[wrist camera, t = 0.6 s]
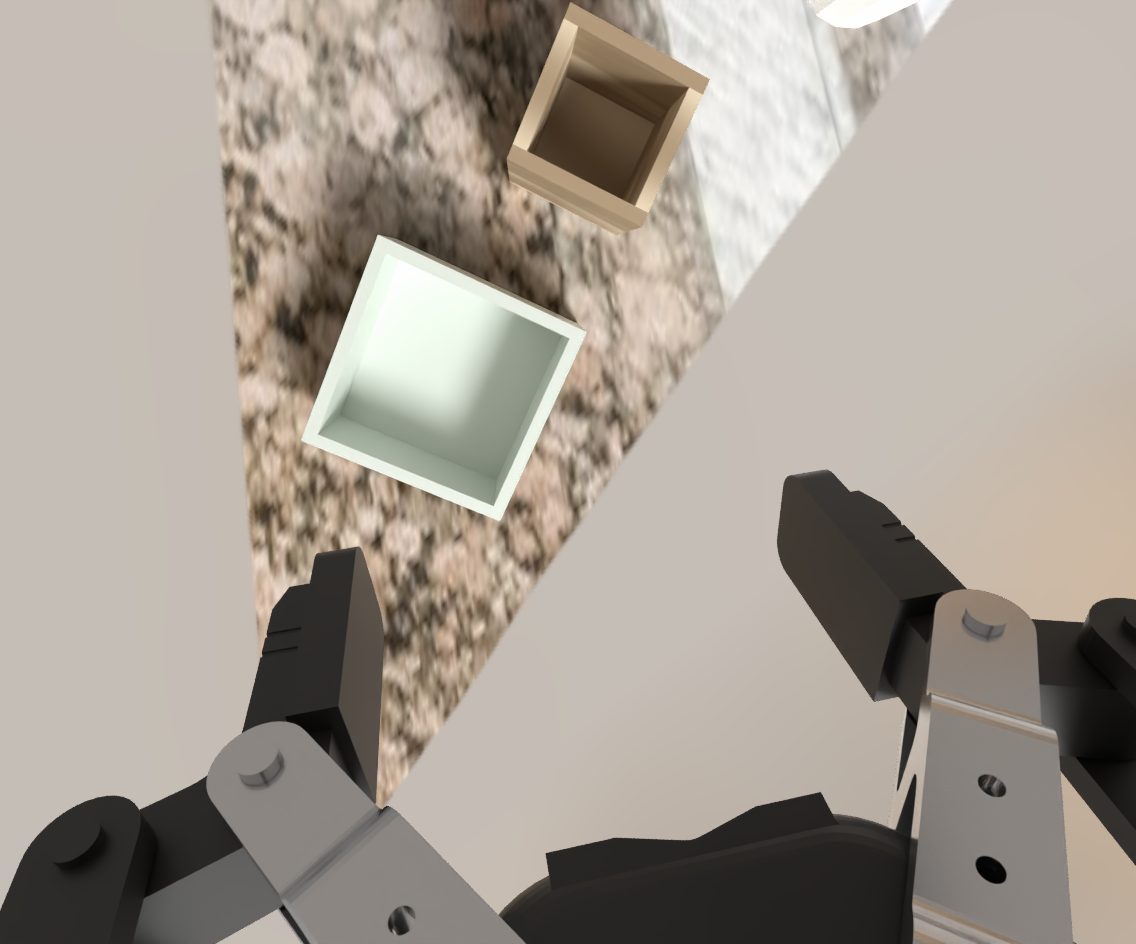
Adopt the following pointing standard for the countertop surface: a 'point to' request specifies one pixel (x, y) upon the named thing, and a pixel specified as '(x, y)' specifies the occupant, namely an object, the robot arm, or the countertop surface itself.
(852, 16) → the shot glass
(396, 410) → the sage crate
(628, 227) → the birch crate
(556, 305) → the countertop surface
